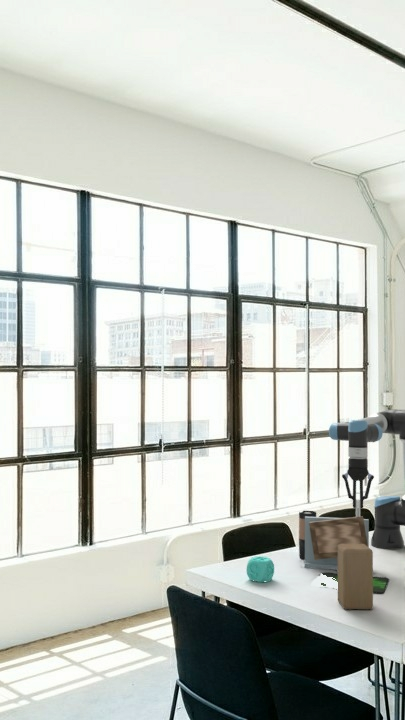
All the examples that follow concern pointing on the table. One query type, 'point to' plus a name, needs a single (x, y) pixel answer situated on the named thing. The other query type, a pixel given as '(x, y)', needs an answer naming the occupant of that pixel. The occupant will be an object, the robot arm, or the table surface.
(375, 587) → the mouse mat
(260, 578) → the decorative dice
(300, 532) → the travel mug
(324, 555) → the walnut frame
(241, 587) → the table surface
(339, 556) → the wooden block
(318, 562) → the grey board
